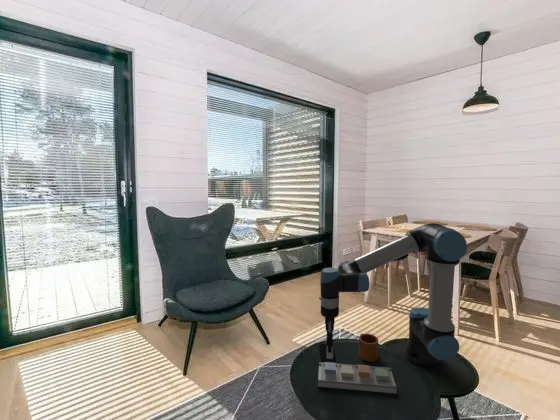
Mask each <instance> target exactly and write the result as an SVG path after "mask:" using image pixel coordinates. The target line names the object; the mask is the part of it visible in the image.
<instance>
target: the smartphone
mask: <svg viewBox="0 0 560 420" xmlns="http://www.w3.org/2000/svg"><path fill="white" fill-rule="evenodd" d="M319 344H320V345H319ZM319 344H318V351H320V352H319V359H320V360H321V361H320V360H319V361H320V362H322V363H325V362H331V363H336V364H337V359H336V353H335V350H334V346H333V359H328V358H326V345H325V343H319ZM320 349H321V350H320Z"/></svg>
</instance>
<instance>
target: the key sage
mask: <svg viewBox="0 0 560 420" xmlns="http://www.w3.org/2000/svg"><path fill="white" fill-rule="evenodd" d="M374 373H375V377H376V380H384V381H388V373H387V370H386V369H383V368H374Z"/></svg>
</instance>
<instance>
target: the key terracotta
mask: <svg viewBox="0 0 560 420" xmlns="http://www.w3.org/2000/svg"><path fill="white" fill-rule="evenodd" d="M357 365H358V376H361V377H371V372H370V367H369V366H370V365H369V364H357Z"/></svg>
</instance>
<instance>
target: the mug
mask: <svg viewBox="0 0 560 420" xmlns="http://www.w3.org/2000/svg"><path fill="white" fill-rule="evenodd" d="M358 357H359V358H360V359H361V360H363V361H365V362H370V363H373V362H375V361H378V358H379V338H378V337H377V335H374V334H371V333H360V334H359V336H358Z"/></svg>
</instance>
